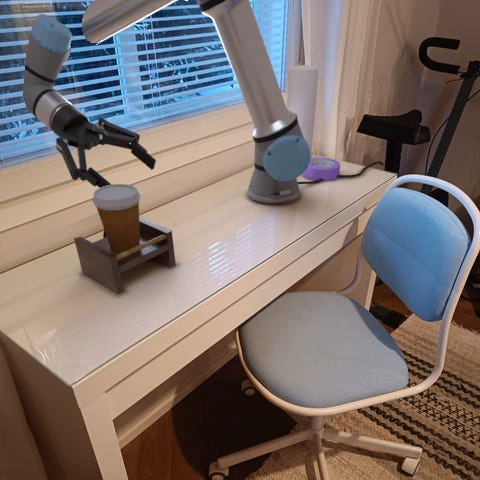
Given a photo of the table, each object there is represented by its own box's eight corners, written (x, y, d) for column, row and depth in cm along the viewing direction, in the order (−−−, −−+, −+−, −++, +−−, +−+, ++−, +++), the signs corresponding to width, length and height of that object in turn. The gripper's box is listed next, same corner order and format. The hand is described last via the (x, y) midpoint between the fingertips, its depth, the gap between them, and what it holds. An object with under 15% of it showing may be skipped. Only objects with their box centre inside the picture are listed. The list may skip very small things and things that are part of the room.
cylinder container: (309, 166, 156) (317, 68, 138) (282, 165, 158) (287, 67, 140) (311, 158, 163) (319, 63, 145) (285, 156, 165) (290, 63, 147)
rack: (140, 247, 110) (134, 214, 105) (175, 265, 103) (172, 231, 98) (82, 273, 100) (73, 238, 95) (117, 294, 93) (110, 258, 88)
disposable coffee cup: (106, 236, 101) (95, 184, 94) (148, 234, 102) (141, 182, 95) (99, 256, 94) (87, 201, 87) (145, 254, 94) (137, 199, 87)
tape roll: (345, 173, 150) (346, 161, 148) (327, 183, 143) (329, 171, 141) (314, 166, 156) (315, 155, 154) (296, 176, 149) (297, 164, 146)
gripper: (101, 112, 112) (166, 166, 111) (18, 153, 98) (91, 215, 96) (104, 86, 105) (172, 142, 104) (15, 125, 91) (93, 191, 90)
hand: (133, 177), depth 100 cm, fingers open, 13 cm apart
